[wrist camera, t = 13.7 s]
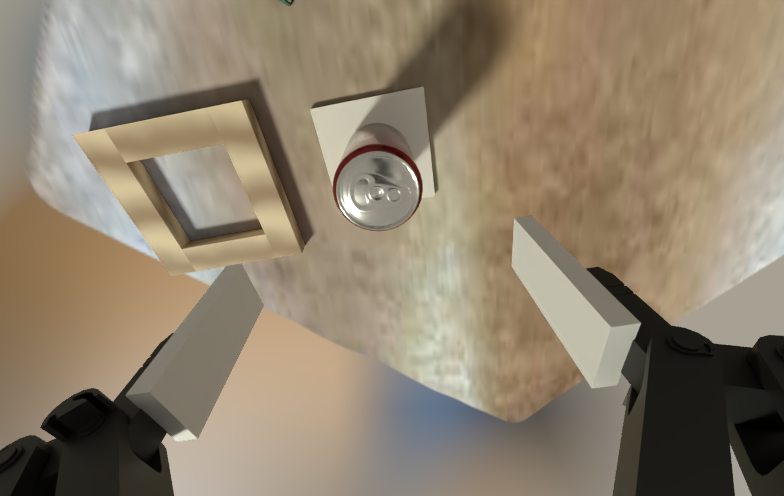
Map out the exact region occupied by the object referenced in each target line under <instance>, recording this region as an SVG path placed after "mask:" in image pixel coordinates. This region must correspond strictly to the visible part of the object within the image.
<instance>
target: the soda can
mask: <svg viewBox="0 0 784 496" xmlns="http://www.w3.org/2000/svg"><path fill="white" fill-rule="evenodd" d="M422 193H423V182H422V178H421V174H420V171H419V169H418V166H417V164H416V162H415V159H414V157H413V154H412V152H411V150H410V147H409V145H408V143H407V141H406V139H405V137H404V136H403V135H402V133H401V132H399V131H398V130H397V129H396V128H394V127H392V126H390V125H387V124H384V123H371V124H368V125H365V126H363V127H361V128H359V129H358V130H357V131H356V132H355V133H354V134H353V135H352V136H351V138H350V139H349V141H348V144H347V146H346V149H345V151H344V153H343V156H342V158H341V160H340V163H339V165H338V168H337V170H336V172H335V175H334V179H333V195H334V200H335V202H336V204H337V207H338V209H339V210H340V211H341V213H342V214H343V216H344V217H346V218H347V219H348V220H349V221H350V222H351V223H353V224H354V225H356V226H358V227H360V228H363V229H366V230H370V231H386V230H390V229H394V228H396V227H398V226H400V225H402V224H404V223H405V222H406V221H408V220H409V219H410V218H411V217H412V215H413V214H414V213H415V212H416V210H417V208H418V207H419V204H420V202H421V199H422Z"/></svg>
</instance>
